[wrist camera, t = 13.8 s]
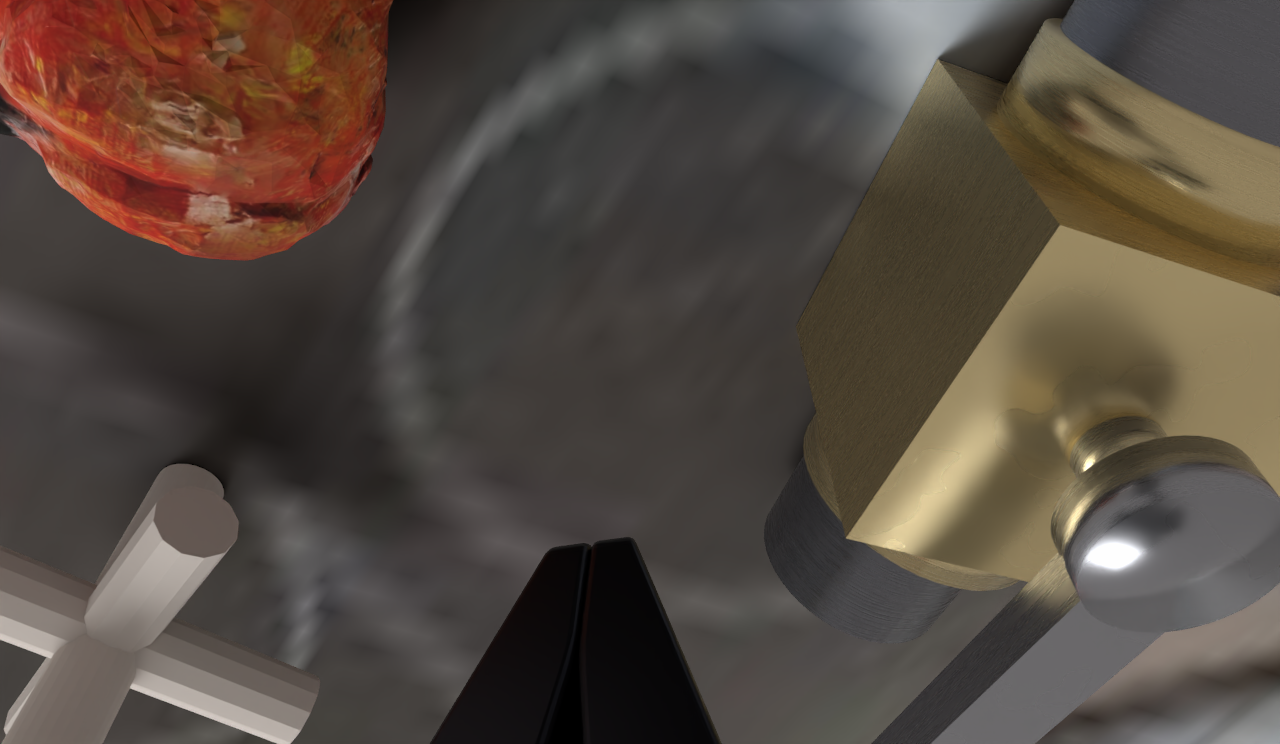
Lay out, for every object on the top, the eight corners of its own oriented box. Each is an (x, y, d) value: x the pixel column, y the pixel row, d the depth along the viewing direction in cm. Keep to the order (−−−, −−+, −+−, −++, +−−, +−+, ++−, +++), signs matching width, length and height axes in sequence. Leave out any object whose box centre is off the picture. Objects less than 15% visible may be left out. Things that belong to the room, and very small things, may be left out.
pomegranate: (386, -295, 17) (-320, -317, 12) (615, -172, 14) (-273, -129, 8) (401, 77, 22) (-94, 169, 17) (569, 242, 19) (-1, 423, 14)
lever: (1108, 366, 15) (1205, 515, 12) (1267, 422, 15) (1390, 573, 13) (718, 816, 23) (727, 958, 21) (831, 838, 24) (854, 978, 22)
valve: (1081, -213, 16) (1384, -123, 10) (1400, -76, 18) (1857, 87, 11) (721, 466, 26) (750, 741, 19) (944, 521, 27) (1041, 795, 21)
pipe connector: (74, 274, 22) (-238, 619, 14) (435, 468, 26) (347, 823, 18) (-46, 505, 27) (-332, 860, 19) (274, 640, 31) (148, 982, 23)
